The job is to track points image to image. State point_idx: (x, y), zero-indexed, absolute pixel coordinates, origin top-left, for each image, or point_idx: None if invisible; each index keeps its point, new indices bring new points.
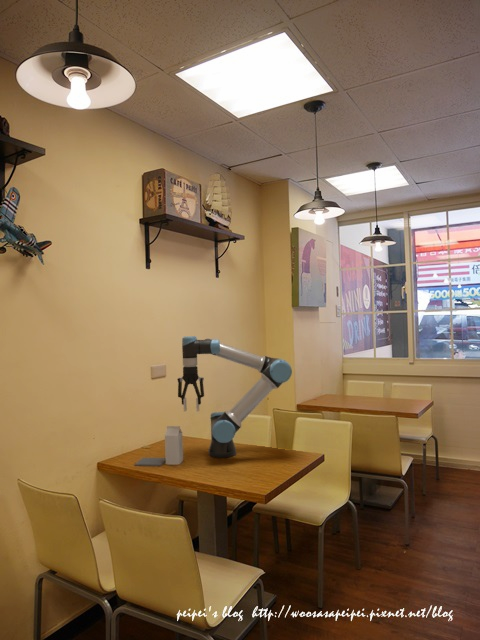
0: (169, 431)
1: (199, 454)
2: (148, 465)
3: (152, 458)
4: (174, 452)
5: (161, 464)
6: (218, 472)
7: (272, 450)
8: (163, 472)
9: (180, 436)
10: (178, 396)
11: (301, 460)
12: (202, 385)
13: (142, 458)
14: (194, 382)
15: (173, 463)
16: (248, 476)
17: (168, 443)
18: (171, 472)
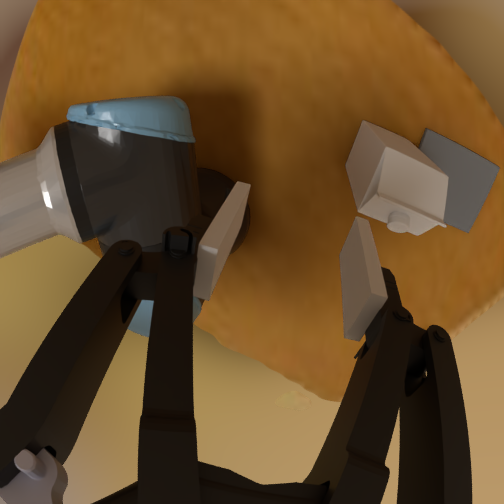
0: (430, 192)
1: (282, 231)
2: (462, 146)
3: (444, 214)
4: (386, 135)
5: (423, 137)
6: (212, 7)
7: None
8: (415, 51)
9: (367, 178)
10: (445, 333)
11: (15, 122)
12: (40, 370)
13: (471, 224)
14: (139, 478)
15: (382, 128)
16: None
17: (420, 156)
18: (387, 40)
